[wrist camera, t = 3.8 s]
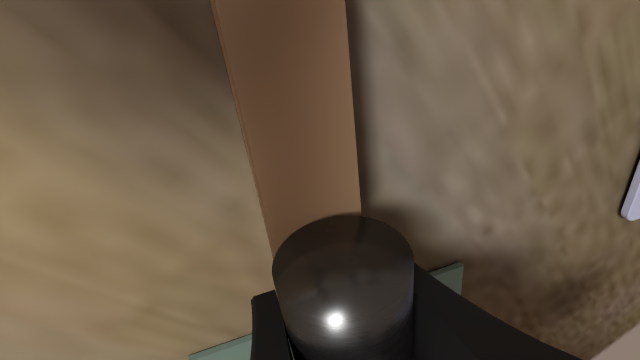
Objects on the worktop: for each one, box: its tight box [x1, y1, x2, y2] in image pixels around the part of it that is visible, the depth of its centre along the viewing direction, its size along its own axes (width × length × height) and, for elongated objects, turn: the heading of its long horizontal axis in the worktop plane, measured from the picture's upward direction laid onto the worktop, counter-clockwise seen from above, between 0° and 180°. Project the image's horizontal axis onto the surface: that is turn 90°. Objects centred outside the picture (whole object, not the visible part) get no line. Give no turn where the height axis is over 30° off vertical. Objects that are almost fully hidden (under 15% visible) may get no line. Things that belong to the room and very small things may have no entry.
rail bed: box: [210, 0, 362, 259], centre depth 11 cm, size 3×10×2 cm, turn 7°
